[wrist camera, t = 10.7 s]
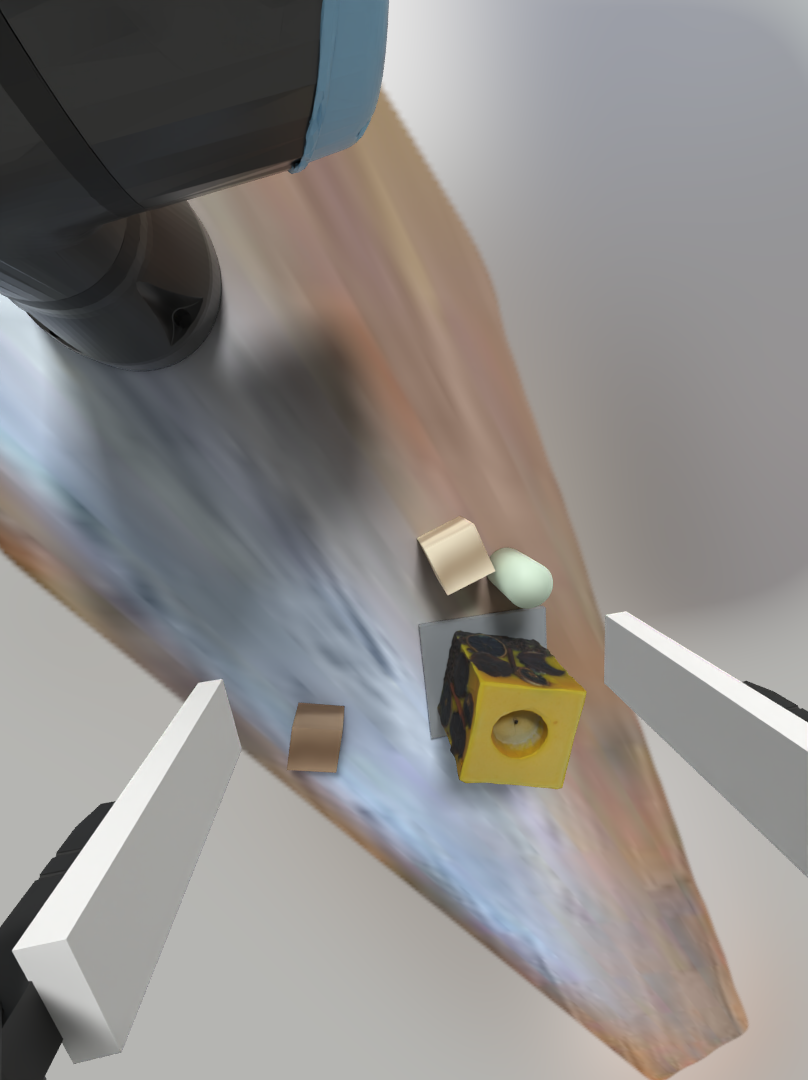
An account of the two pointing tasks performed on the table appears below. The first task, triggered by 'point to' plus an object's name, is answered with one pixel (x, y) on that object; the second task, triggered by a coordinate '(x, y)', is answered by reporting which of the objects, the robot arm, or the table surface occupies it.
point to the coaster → (441, 633)
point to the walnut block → (316, 738)
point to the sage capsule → (520, 578)
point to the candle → (508, 711)
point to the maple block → (456, 554)
